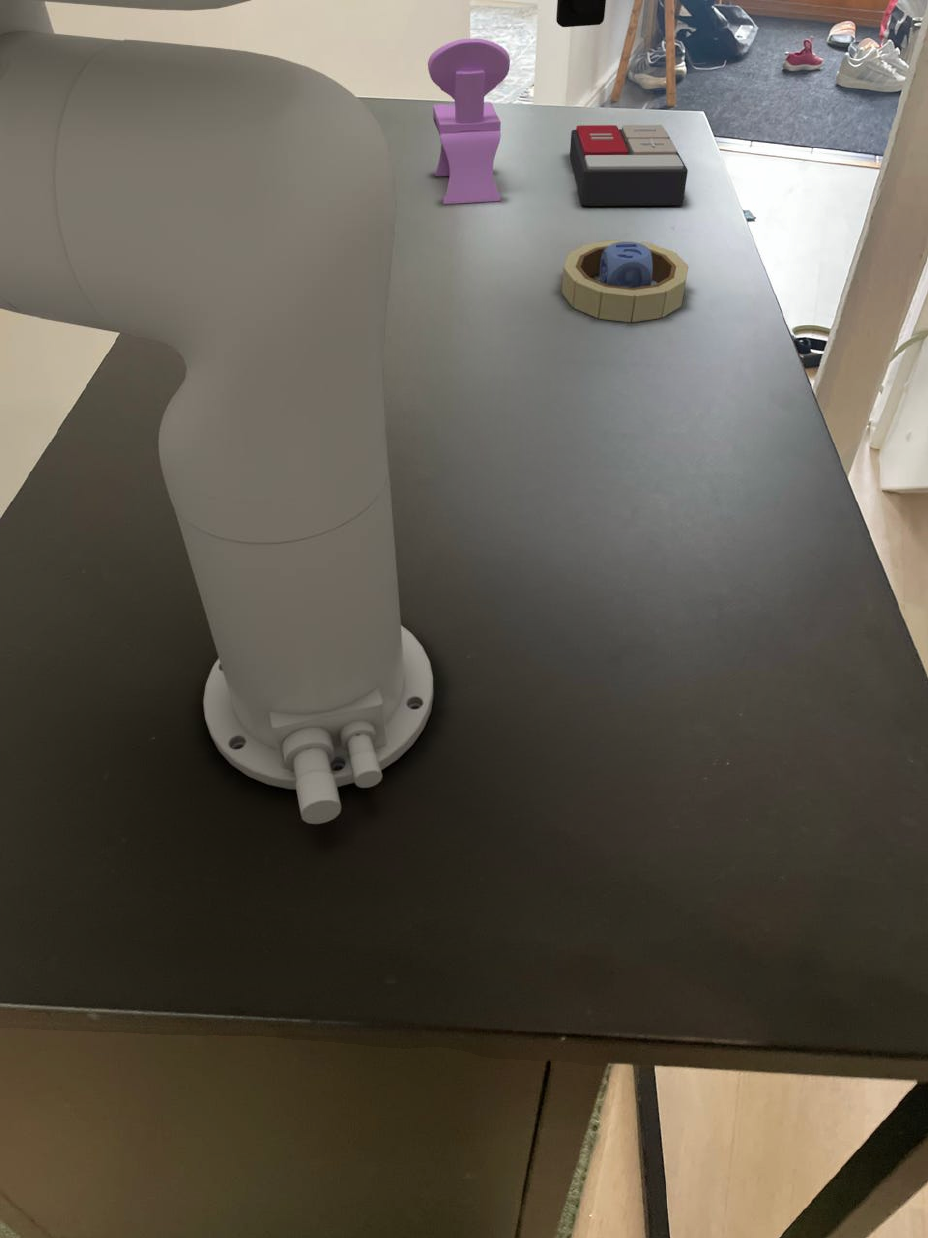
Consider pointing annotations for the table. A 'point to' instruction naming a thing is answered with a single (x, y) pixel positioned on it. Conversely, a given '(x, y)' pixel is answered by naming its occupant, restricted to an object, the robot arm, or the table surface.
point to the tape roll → (618, 299)
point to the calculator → (627, 166)
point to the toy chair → (468, 117)
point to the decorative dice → (626, 265)
